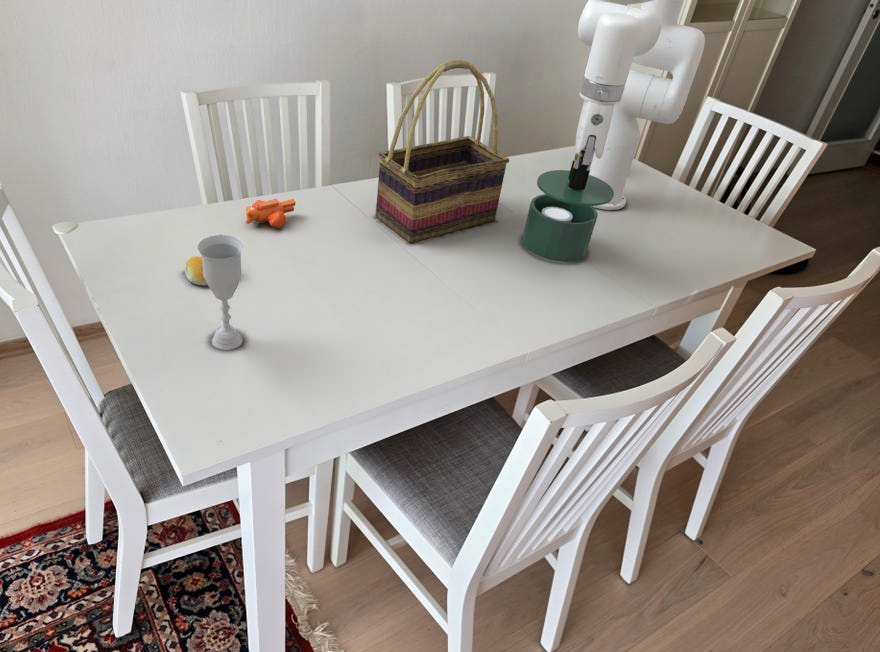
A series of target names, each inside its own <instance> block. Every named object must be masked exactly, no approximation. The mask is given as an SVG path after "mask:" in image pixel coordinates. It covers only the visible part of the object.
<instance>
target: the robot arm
mask: <svg viewBox="0 0 880 652" xmlns="http://www.w3.org/2000/svg"><path fill="white" fill-rule="evenodd" d="M684 2H685V0H587V2H586V3H585V6H584V8H583V10H582V12H581V14H580V17H579V21H578V24H577V25H578V26H577V35H578V38H579V40H580V41H581V42H582V43H583V44H584V45H586V46H589V47H590V51H589V54H588V55H589V56H588V59H587V64H586V67H585V70H584V75H583V78H582V81H581V85H580V90H579V94H578V95H579V97H580V98H581V99H583V104H582V108H581V111H580V115H579V120H578V124H577V128H576V133H575V154H574V158H573V160H572V162H571V166H570V169H569V171H570V173H569V177H568V179H569V180H570V181H569V188H573V189H579V190H584V189H585V187H586V183H587V180H588V176H589V175H591V176H594V177H596V178H599V179H601V180H602V181H604V182H606V183H607V184H608V185H610V186H611V188H612V189H613V191H614V196H613V199H612V200H611V201H610V202H608V203H606V204H603V205H598V206H593V207H594V208H595V209H599V210H607V211H615V210H616V211H617V210H620V209H622V208H624V207H625V206H626V204H627V198H626V197H625V196H624V195H623V193H624V189H625V186H626V183H627V180H628V178H629V174H630V171H631V168H632V164H633V161H634V158H635V155H636V152H637V149H638V146H639V143H640V139H641V129H640V125H639V122H638V120H637V119H643V120H647V121H651V122H654V123H659V124H663V125H671V124H674V123H676V121H677V120H678V119H679V118H680V116H681V115H682V113H683V110H684V107H685V105H686V102H687V99H688V97H689V94H690V91H691V88H692V85H693V82H694V79H695V77H696V74H697V71H698V69H699V67H700V63H701V60H702V57H703V53H704V50H705V46H706V45H705V44H706V37H705V34H704V32H703V31H702V30H700V29H698V28H696V27H693V26H689V25H683V24H679V23H678V20H679V17H680V14H681V12H682V11H681V10H682V7H683V5H684ZM638 4H641V5H640V8H639V7H635V6H634V7H633V6H630V5H638ZM633 63H634V64H637V65H640V66H642V67H646V68H647V67H648V68H652V69H655V70H660V71H664V72H669V73H670V74H671V75H672V78H669V77H663V76H659V75H655V74H653V73H647V72H643V71H639V70H632V69H631V67H632V64H633ZM594 152H595V153H594ZM580 159H581V160H580ZM592 159H593V160H592ZM575 160H577V161H576V165H575V167H573V166H574V163H575Z"/></svg>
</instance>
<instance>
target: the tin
mask: <svg viewBox="0 0 880 652" xmlns="http://www.w3.org/2000/svg"><path fill="white" fill-rule="evenodd" d="M546 207H558V208H562V209H565V210H567V211H569V212H570V213H571V214H572V216H573V217H572V220H571V222H563V221H559V220H555V219H552V218H550V217H547V216H545V215H544V214H542V213H541V212H542V210H543V208H546ZM598 215H599V213H598V211H597V208H595V207H593V206H581V205H574V204H569V203H565V202H562V201H559V200H557V199H554V198H552V197H550V196H548V195H547V194H545V193H543V194H539V195H536V196H535V197H532V199H531V201H530V204H529V209H528V212H527V216H526V221H525V225H524V228H523V233H522V234H523V235H522V238H521V241H522V244H523V246H524V247H525V248H526V249H527V251H529V252H530V253H532V254H534V255H535V256H537V257H541V258H543V259H546V260H550V261H554V262H575V261H578V260H581V259H583V258H584V257H585V256H586V255H587V252H588V249H589V247H590V246H589V245H590V242H591V239H592V235H593V232H594V229H595V226H596V222H597V219H598Z"/></svg>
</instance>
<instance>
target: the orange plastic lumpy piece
mask: <svg viewBox="0 0 880 652" xmlns="http://www.w3.org/2000/svg"><path fill="white" fill-rule="evenodd" d="M296 203H297V202H296V201H295V199H294V198H290V199H288V200H283V201H279V200H278V199H277V198H274V199H270V200H266V201H265V200H260V199H257V200H256V201H255V202H254V203H252V205H251V206H247V207H246V209H245V211H246V220H245V224H246V225H249V224H251V223H252V222H256V223H257V224H262V223H266V222H268V223H269V225H270V226H271V227H274V228H277V229H279V228H281V227H282V226H283V225H284V224H285V223H287V217H286V215H285V214H286V213H291V212H294V211H295V206H296Z"/></svg>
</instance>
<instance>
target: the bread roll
mask: <svg viewBox="0 0 880 652" xmlns="http://www.w3.org/2000/svg"><path fill="white" fill-rule="evenodd" d="M183 273H184V275H185V276H186V279H187V280H188V281H189V282H190V283H191V284H194V285H197V286H198V285H199V286H208V284H207V282H206V280H205V278H204V275H203V264H202V256H200V255H199V256H197V255H196V256H191V257H190V258H189V259H188V260H187V261H185V266H184V272H183Z"/></svg>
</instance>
